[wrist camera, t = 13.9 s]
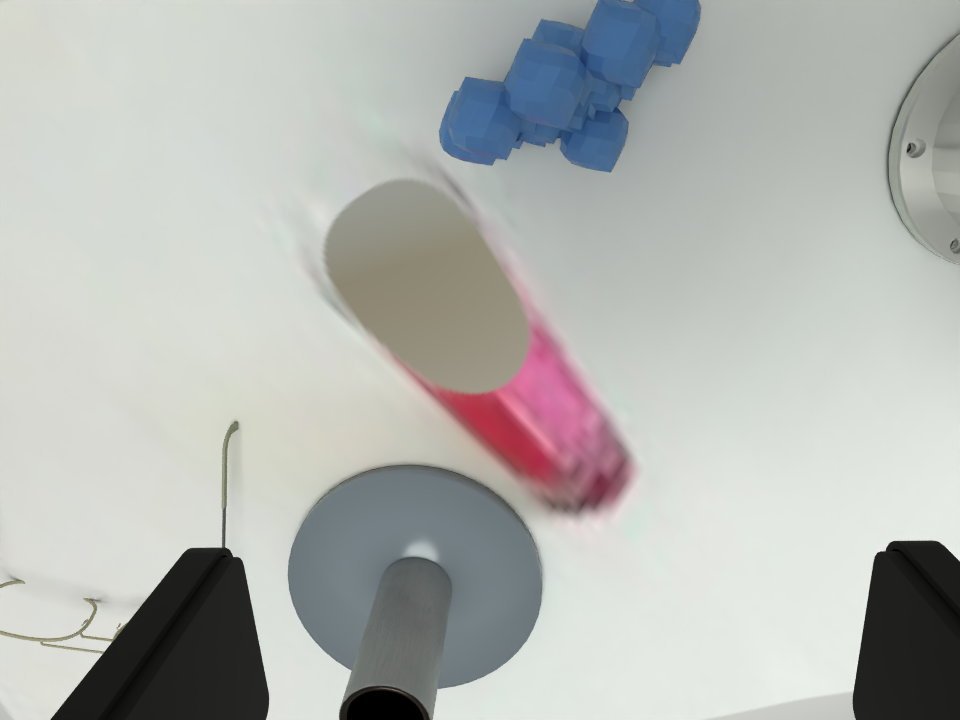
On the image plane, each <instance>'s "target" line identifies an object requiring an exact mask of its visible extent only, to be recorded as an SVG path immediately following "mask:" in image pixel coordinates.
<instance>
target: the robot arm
mask: <svg viewBox="0 0 960 720" xmlns="http://www.w3.org/2000/svg"><path fill="white" fill-rule="evenodd" d="M909 143H910V144H911V149H910V151H909V152H908V153H907V147H908V144H909ZM889 182H890V186H891V191H892V196H893V200H894V204H895V206H896V208H897V210H898V212H899V214H900V216H901V219H902V221H903V223H904V224H905V225H906V227H907V228H908V229H909V231H910V232H911V233H912V234H913V236H914V237H915V238H916V239H917V240H918V241H919V242H920V243H921V244H923V245H924V246H925V247H926V248H928V249H929V250H930V251H931V252H933V253H934V254H936V255H938V256H940V257H942V258H944V259H946V260H948V261H950V262H952V263H955V264H958V265H960V34H959V35H958V36H957V37H955V38H954V39H953V40H952V41H951V42H950V43H949V44H948V45H947V46H946V47H945V48H943V49H942V50H941V51H940V52H939V53H938V54H937V55H936V56H935V57H934V58H933V60H932V61H931V62H930V63H929V65H928V66H927V67H926V68H925V70H924V71H923V72H922V73H921V75H920V76H919V77H918V78H917V80H916V82H915V83H914V85H913V87H912V89H911V90H910V92H909V94H908V96H907V98H906V99H905V101H904V103H903V105H902V108H901V110H900V113H899V116H898V118H897V121H896V124H895V127H894V129H893V134H892V140H891V146H890V151H889ZM952 241H953V244H952V245H951V243H952ZM950 245H951V246H950ZM268 707H269V692H268V687H267V682H266V677H265V672H264V667H263V662H262V656H261V651H260V646H259V641H258V636H257V631H256V626H255V620H254V615H253V610H252V605H251V600H250V595H249V590H248V585H247V579H246V574H245V569H244V565H243V562H242V560H241V559H240V558H238V557H233V555H232V553H231V551H230V550H229V549H227V548H190V549H188V550H186V551H185V552H184V553H183V554H182V556H181V557H180V558H179V559H178V561H177V562H176V563H175V564H174V566H173V567H172V568H171V569H170V571H169V572H168V573H167V574H166V576H165V577H164V578H163V579H162V581H161V582H160V583H159V584H158V586H157V587H156V588H155V589H154V591H153V592H152V593H151V594H150V596H149V597H148V598H147V599H146V601H145V602H144V603H143V604H142V606H141V607H140V608H139V609H138V611H137V612H136V613H135V614H134V616H133V617H132V618H131V619H130V621H129V622H128V623H127V625H126V626H125V627H124V628H123V630H122V631H121V632H120V633H119V635H118V636H117V637H116V638H115V640H114V641H113V642H112V643H111V645H110V646H109V647H108V648H107V650H106V651H105V652H104V653H103V655H102V656H101V657H100V658H99V660H98V661H97V662H96V663H95V665H94V666H93V667H92V668H91V670H90V671H89V672H88V673H87V675H86V676H85V677H84V678H83V680H82V681H81V682H80V683H79V685H78V686H77V687H76V688H75V690H74V691H73V692H72V693H71V695H70V696H69V697H68V698H67V700H66V701H65V702H64V703H63V705H62V706H61V707H60V708H59V710H58V711H57V712H56V713H55V715H54V716H53V717H52V718H51V720H266V717H267V713H268ZM853 710H854V714H855V718H856V720H960V561H959V560H958V559H957V558H956V557H955V556H954V555H953V554H952V553H951V552H950V551H949V550H948V549H947V548H946V547H945V546H944V545H942V544H941V543H939V542H937V541H893V542H891V543H889V545H888V546H887V548H886V551H883V552H878V553H877V554H876V556H875V559H874V563H873V570H872V576H871V583H870V589H869V596H868V602H867V608H866V615H865V621H864V628H863V634H862V641H861V647H860V654H859V660H858V667H857V673H856V680H855V686H854V693H853Z"/></svg>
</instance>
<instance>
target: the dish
mask: <svg viewBox="0 0 960 720" xmlns="http://www.w3.org/2000/svg"><path fill="white" fill-rule="evenodd" d="M407 558H421V559H425V560H428V561H431V562H433V563H435V564H436V565H438V566H439V567H440V568H441V569H443V571H444V572H445V573H446V574H447V576H448V577H449V580H450V582H451V586H452V595H451V604H450V610H449V617H448V623H447V630H446V636H445V643H444V649H443V655H442V662H441V668H440V675H439V681H438V688H437V689H441V688H447V687H454V686H458V685H462V684H465V683H469V682H472V681H474V680H477V679H479V678H482V677H484V676H486V675H487V674H489V673H491V672H493V671H495V670H496V669H498V668H499V667H501V666H502V665H503V664H505V663H506V662H507V661H509V660H510V659H511V658H512V657H513V656H514V655H515V654H516V653H517V652H518V651H519V650H520V648H521V647H522V646H523V644H524V643H525V642H526V641H527V639H528V637H529V635H530V634H531V632H532V630H533V628H534V626H535V623H536V620H537V618H538V615H539V610H540V605H541V594H542V579H541V567H540V560H539V557H538V553H537V549H536V546H535V544H534V542H533V539H532V537H531V535H530V533H529V531H528V530H527V528H526V526H525V525H524V523H523V521H522V520H521V519H520V518H519V516H518V515H517V514H516V513H515V512H514V510H513V509H512V508H511V507H510V506H509V505H508V504H507V503H505V502H504V501H503V500H502V499H501V498H500V497H499V496H497V495H496V494H495V493H493V492H492V491H490V490H489V489H488V488H486V487H484V486H483V485H481V484H479V483H477V482H475V481H474V480H472V479H469V478H467V477H464V476H462V475H459V474H457V473H454V472H450V471H447V470H443V469H439V468H433V467H427V466H413V465H402V466H389V467H384V468H379V469H374V470H370V471H367V472H364V473H362V474H359V475H356V476H354V477H352V478H350V479H348V480H346V481H344V482H342V483H341V484H339V485H338V486H336V487H335V488H333V489H332V490H330V491H329V492H328V493H327V494H326V495H325V496H324V497H323V498H321V499H320V500H319V501H318V503H317V504H316V505H315V506H314V508H313V509H312V510H311V511H310V513H309V514H308V516H307V518H306V519H305V521H304V523H303V525H302V526H301V528H300V530H299V532H298V534H297V536H296V538H295V541H294V543H293V546H292V549H291V553H290V558H289V566H288V581H289V590H290V594H291V598H292V602H293V605H294V607H295V610H296V612H297V615H298V617H299V619H300V620H301V622H302V624H303V626H304V627H305V629H306V630H307V632H308V633H309V634H310V636H311V637H312V638H313V640H314V641H315V642H316V643H317V644H318V645H319V646H320V647H321V648H322V649H323V650H324V651H325V652H326V653H327V654H329V655H330V656H331V657H332V658H333V659H335V660H336V661H337V662H339V663H340V664H342V665H343V666H345V667H346V668H348V669H350V670H352V669H353V666H354V663H355V660H356V656H357V653H358V650H359V647H360V644H361V641H362V638H363V634H364V631H365V628H366V625H367V622H368V619H369V615H370V612H371V609H372V606H373V603H374V600H375V596H376V593H377V590H378V587H379V584H380V581H381V579H382V576H383V574H384V572H385V571H386V570H387V568H388V567H389V566H391V565H392V564H393V563H395V562H397V561H399V560H402V559H407Z"/></svg>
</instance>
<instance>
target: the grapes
mask: <svg viewBox="0 0 960 720" xmlns="http://www.w3.org/2000/svg"><path fill="white" fill-rule="evenodd" d="M700 11H701V6H700V3H699V1H698V0H634V1H633V3H632V2H627V1H622V0H599V1H598V3H597V5H596V7H595V9H594V11H593V13H592V15H591V18H590V20H589V22H588V24H587V26H586V29H585V31H584V30H583V29H580V28H577V27H575V26H572V25H569V24H565V23H560V22H556V21H549V20H543V19H541V21H540V23H539V25H538V27H537V29H536V31H535V33H534V35H533V38H532V40H531V39H524V40H523V42H522V44H521V46H520V48H519V50H518V52H517V54H516V56H515V59H514V61H513V64H512V66H511V69H510V71H509V72H508V74H507V76H506V78H505V80H504V82H503V83H502V82H497V81H490V80H483V79H477V78H470V77H465V79H464V81H463V83H462V85H461V87H460V89H459V91H454V93H453V95H452V98H451V100H450V102H449V104H448V106H447V109H446V111H445V114H444V117H443V119H442V123H441V126H440V130H439V136H440V143H441V145H442V148H443V150H444V151H445V152H447V153H448V154H450V155H451V156H452V157H455V158H458V159H460V160H463V161H467V162H472V163H478V164H485V165H493V163H494V161H495V159H504V160H507V158H508V156H509V154H510V152H511V150H512V148H517V149H520V146H521V144H522V142H523V141H524V142H527V143H530V144H534V145H538V146H542V147H545V144H546V143H552V144H554V142H555V140H556V139H557V138H561V145H560V150H561V152H562V153H563V155H564V156H565V157H566V158H567V159H568V160H569V161H570V162H571V163H572V164H575V165H578V166H581V167H584V168H588V169H593V170H598V171H605V172H611V171H612V169H613V167H614V165H615V163H616V161H617V159H618V157H619V155H620V153H621V151H622V149H623V147H624V145H625V141H626V137H627V132H628V123H629V122H628V121H627V119H626V118H625V116H624V115H623V114H622V113H621V112H620V110H619V109H618V108H617V107H618V105H619V103H620V101H621V99H625V100H630V101H631V100H632V98H633V96H634V94H635V92H636V90H637V88H640V86H641V84H642V82H643V80H644V78H645V77H646V75H647V73H648V71H649V69H650V68H651V66H652V64H654V65H659V66H666V67H671V65H672V63H675V64H680V62H681V61H682V59H683V57H684V55H685V53H686V51H687V50H688V48H689V46H690V43H691V41H692V39H693V37H694V35H695V33H696V30H697V27H698V24H699V20H700Z"/></svg>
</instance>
